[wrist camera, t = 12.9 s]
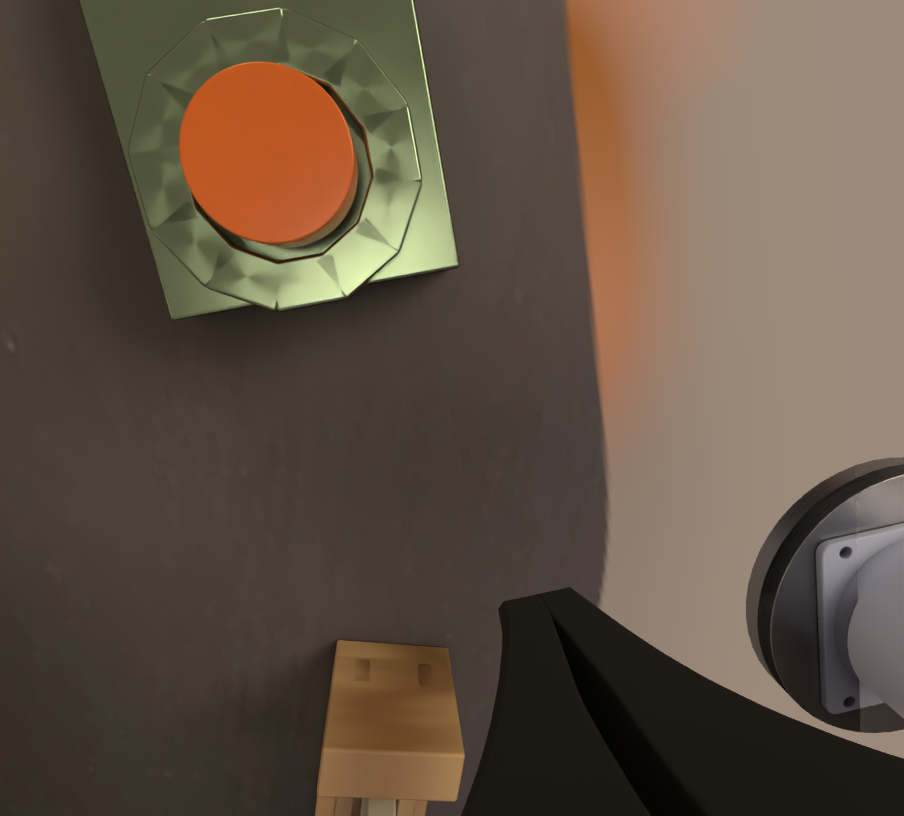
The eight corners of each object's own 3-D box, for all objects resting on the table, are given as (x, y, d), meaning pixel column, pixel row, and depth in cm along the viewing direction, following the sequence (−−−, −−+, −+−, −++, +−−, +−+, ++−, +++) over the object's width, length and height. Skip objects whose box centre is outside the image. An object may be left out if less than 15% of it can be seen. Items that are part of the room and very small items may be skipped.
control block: (91, -57, 16) (-6, -167, 12) (387, -100, 16) (387, -219, 12) (198, 324, 18) (146, 337, 14) (453, 276, 19) (470, 275, 15)
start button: (185, 100, 14) (155, 75, 12) (340, 76, 14) (333, 47, 12) (226, 259, 14) (205, 257, 13) (371, 233, 15) (369, 227, 13)
